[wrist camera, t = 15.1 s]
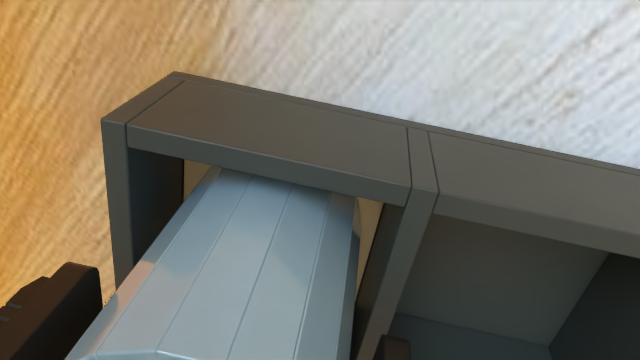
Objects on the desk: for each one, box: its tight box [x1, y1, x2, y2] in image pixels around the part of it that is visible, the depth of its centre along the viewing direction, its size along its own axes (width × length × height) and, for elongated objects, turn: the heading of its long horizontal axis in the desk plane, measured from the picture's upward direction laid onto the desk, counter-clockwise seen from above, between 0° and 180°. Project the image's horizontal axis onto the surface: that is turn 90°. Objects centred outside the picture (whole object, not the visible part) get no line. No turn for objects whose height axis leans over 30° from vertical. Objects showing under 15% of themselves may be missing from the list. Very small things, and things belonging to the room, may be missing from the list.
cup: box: [64, 166, 361, 360], centre depth 13 cm, size 6×6×9 cm
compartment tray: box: [101, 71, 640, 360], centre depth 18 cm, size 17×17×5 cm
